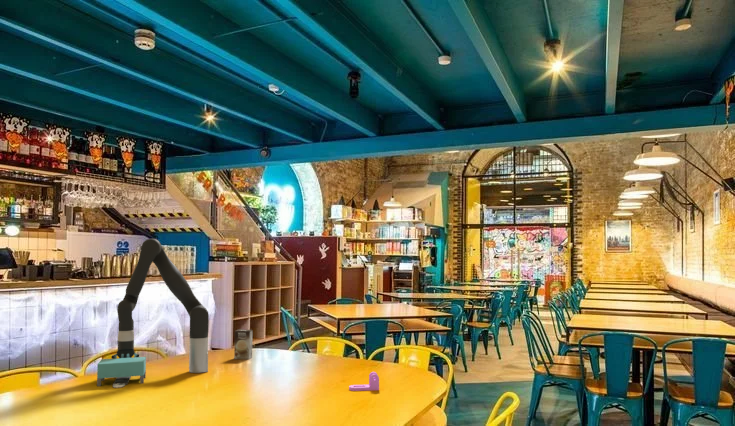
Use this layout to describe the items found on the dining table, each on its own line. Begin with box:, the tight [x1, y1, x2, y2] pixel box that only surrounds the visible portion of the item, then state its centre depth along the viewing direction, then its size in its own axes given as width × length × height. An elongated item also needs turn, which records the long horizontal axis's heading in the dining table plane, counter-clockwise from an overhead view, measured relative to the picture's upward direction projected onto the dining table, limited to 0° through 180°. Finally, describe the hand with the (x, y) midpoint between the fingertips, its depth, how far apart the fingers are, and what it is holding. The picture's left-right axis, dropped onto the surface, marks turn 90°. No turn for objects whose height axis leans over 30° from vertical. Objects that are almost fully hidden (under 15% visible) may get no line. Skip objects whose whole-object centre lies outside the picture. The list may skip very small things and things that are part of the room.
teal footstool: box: [96, 356, 147, 387], centre depth 282 cm, size 20×13×10 cm, turn 106°
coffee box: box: [233, 328, 253, 360], centre depth 341 cm, size 9×6×16 cm
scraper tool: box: [112, 376, 132, 386], centre depth 288 cm, size 28×6×6 cm, turn 16°
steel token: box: [112, 383, 126, 389], centre depth 272 cm, size 5×5×1 cm
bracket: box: [348, 371, 380, 392], centre depth 264 cm, size 13×6×7 cm, turn 96°
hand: (125, 374), depth 295 cm, fingers closed on scraper tool
